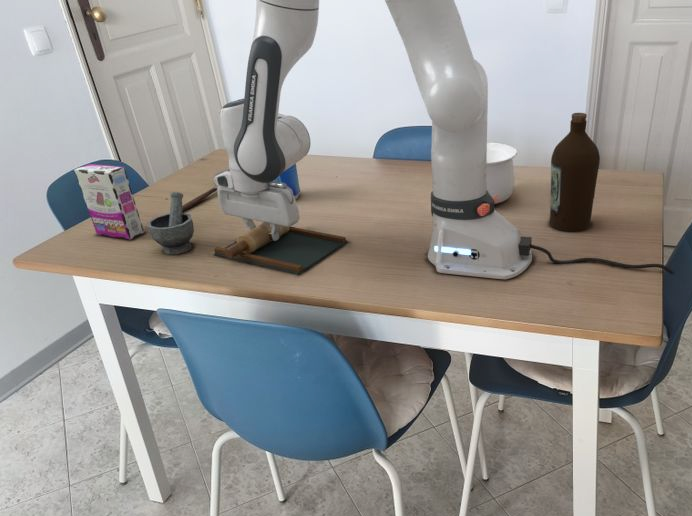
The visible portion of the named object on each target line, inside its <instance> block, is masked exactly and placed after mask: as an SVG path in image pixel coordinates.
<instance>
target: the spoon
mask: <svg viewBox="0 0 692 516" xmlns="http://www.w3.org/2000/svg"><path fill="white" fill-rule="evenodd" d="M228 170H230V169H229V168H227V169H224V170H222V171H219V172H217V173H215V174H214V175H213V176H212V178H213V180H214V177H215V176H217V175H219V174H221V173H223V172H225V171H228ZM217 188H218V186H217V185H216V186H214V187H212V188H211V189H209V190H208V191H205V192H203V193H202V194H200V195H198V196H196V197H194V198H193V199H191V200H190V201H188V202H187V203H186V202H185V204H182V212H185V211H186V210H189V209H190V208H192V207H194V206H196V205H197V204H199V203H201V202H203V201H204V200H205V199H207V198H208V197H209V196H210V195H212V194H213V193H215V192H217Z"/></svg>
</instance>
